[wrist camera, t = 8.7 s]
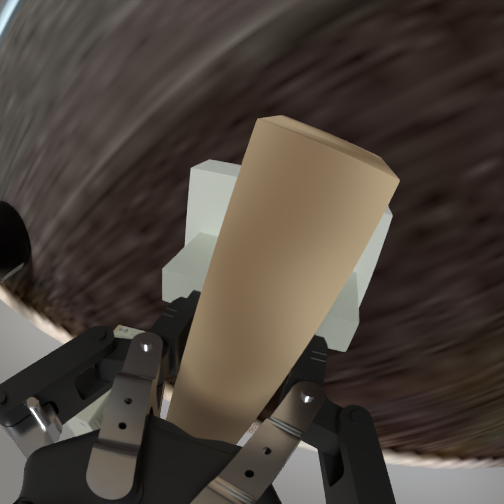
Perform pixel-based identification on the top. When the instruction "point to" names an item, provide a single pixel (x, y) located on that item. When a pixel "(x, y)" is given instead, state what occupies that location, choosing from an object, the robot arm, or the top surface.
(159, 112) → the top surface
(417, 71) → the top surface
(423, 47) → the top surface
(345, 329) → the fulcrum
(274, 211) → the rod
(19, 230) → the ink bottle
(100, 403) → the skincare box
